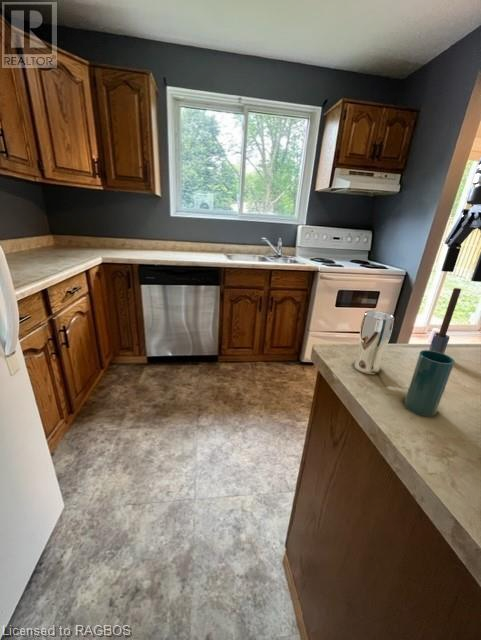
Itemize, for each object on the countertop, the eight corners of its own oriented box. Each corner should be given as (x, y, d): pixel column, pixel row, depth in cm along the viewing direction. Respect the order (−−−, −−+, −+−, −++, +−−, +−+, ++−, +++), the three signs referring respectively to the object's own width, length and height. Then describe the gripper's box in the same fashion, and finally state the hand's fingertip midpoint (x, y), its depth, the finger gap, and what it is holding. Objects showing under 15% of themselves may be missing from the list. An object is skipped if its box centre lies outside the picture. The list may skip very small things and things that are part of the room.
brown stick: (437, 354, 80) (459, 288, 73) (440, 357, 78) (464, 289, 71) (429, 353, 80) (451, 287, 73) (433, 356, 78) (455, 289, 71)
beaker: (427, 401, 59) (444, 352, 55) (441, 418, 54) (461, 365, 50) (400, 397, 60) (415, 348, 56) (411, 414, 55) (428, 362, 50)
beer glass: (355, 359, 76) (367, 308, 70) (383, 367, 72) (397, 314, 67) (349, 369, 70) (361, 315, 65) (378, 378, 67) (393, 322, 61)
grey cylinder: (438, 355, 81) (445, 333, 78) (444, 361, 77) (452, 338, 75) (425, 353, 81) (431, 332, 79) (430, 359, 78) (438, 337, 75)
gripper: (445, 190, 75) (423, 267, 83) (515, 177, 52) (476, 285, 60) (475, 191, 74) (450, 269, 82) (559, 178, 51) (514, 288, 59)
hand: (461, 276), depth 71 cm, fingers open, 13 cm apart
